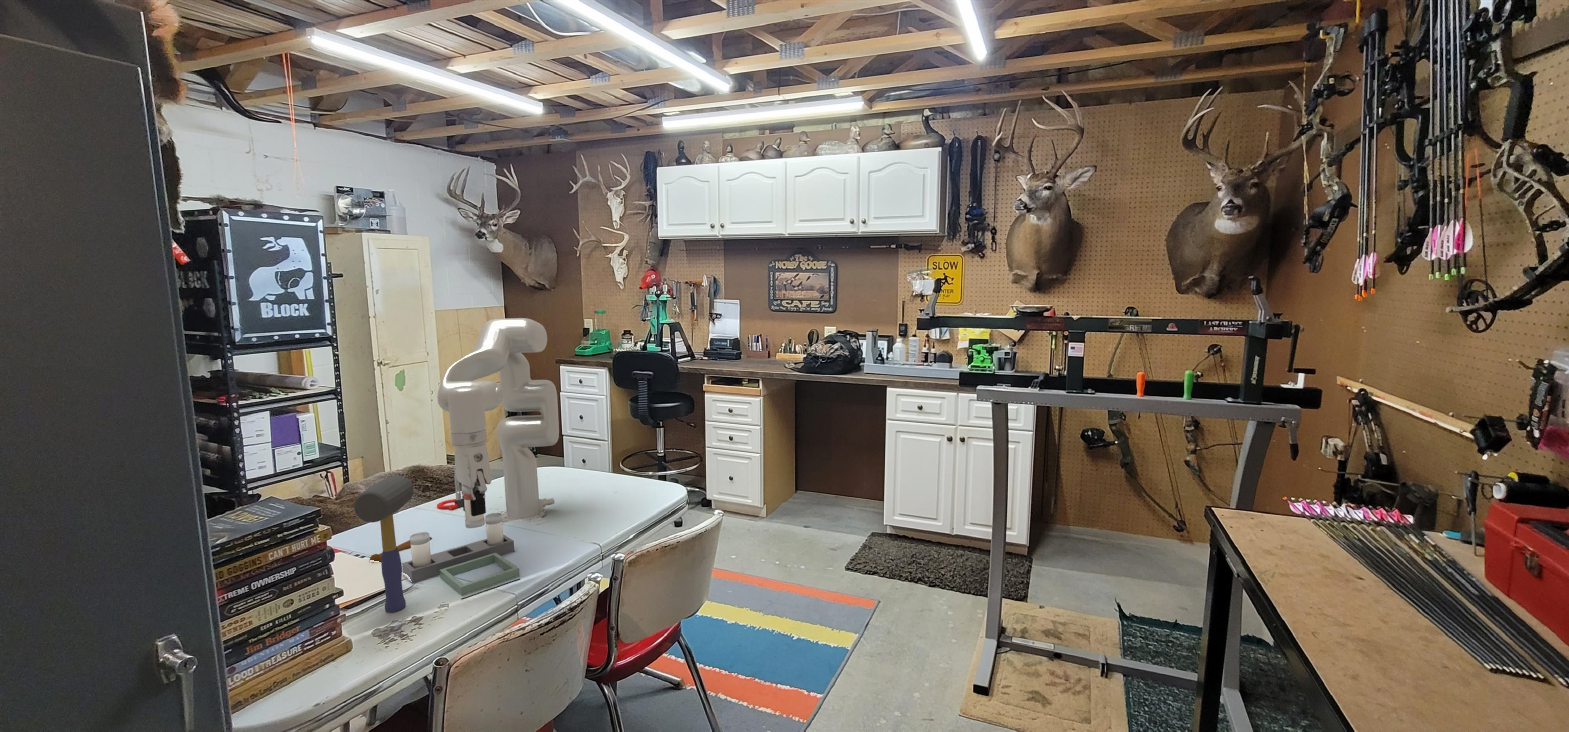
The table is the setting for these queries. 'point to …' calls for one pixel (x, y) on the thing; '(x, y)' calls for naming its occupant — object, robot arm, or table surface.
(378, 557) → the primitive tool
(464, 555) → the fuse holder
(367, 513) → the rubber mallet
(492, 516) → the cylinder
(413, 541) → the cylinder
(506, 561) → the tray
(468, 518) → the cylinder
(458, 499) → the tow hook
